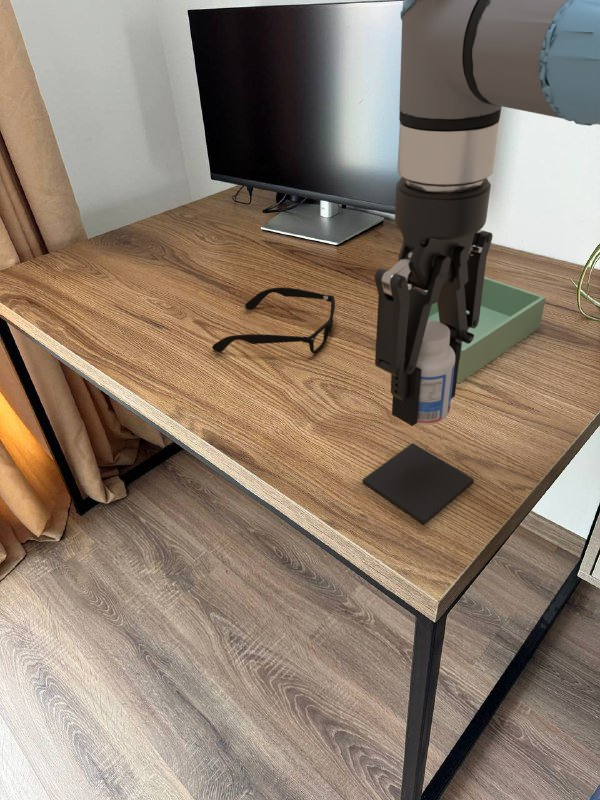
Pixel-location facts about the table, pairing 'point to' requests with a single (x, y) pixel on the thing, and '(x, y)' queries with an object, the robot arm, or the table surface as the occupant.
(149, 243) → the table surface
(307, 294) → the glasses
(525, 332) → the tote
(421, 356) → the pill bottle
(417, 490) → the mat
